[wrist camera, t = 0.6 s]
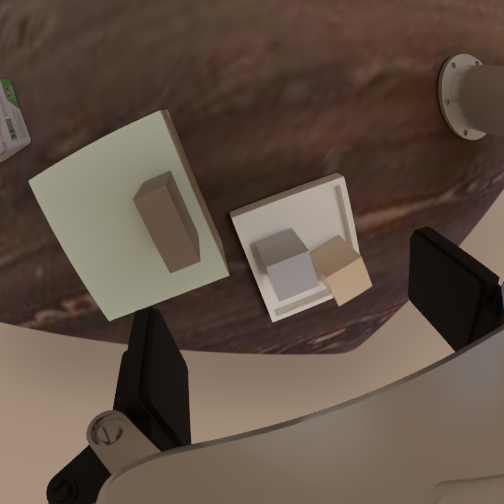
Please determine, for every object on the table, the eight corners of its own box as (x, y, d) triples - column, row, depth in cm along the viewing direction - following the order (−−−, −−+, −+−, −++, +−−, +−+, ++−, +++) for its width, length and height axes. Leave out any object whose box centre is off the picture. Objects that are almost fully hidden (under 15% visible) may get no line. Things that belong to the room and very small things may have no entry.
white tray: (336, 172, 35) (343, 176, 34) (357, 276, 42) (364, 284, 41) (229, 212, 35) (231, 218, 33) (269, 313, 42) (272, 322, 40)
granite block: (291, 227, 37) (309, 250, 31) (301, 260, 39) (318, 285, 33) (254, 242, 37) (266, 267, 31) (266, 273, 39) (278, 302, 33)
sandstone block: (339, 234, 38) (361, 256, 33) (350, 262, 40) (372, 285, 35) (307, 253, 39) (325, 278, 33) (320, 279, 41) (339, 306, 35)
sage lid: (160, 110, 23) (151, 111, 18) (228, 271, 30) (236, 307, 25) (31, 179, 23) (0, 198, 18) (110, 316, 30) (99, 355, 25)
